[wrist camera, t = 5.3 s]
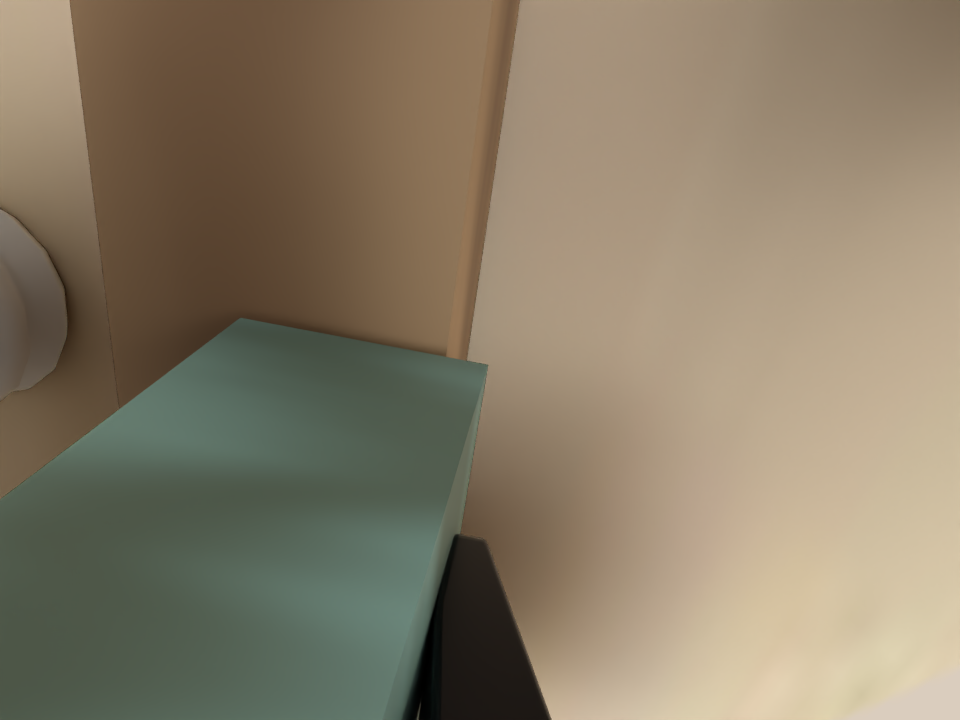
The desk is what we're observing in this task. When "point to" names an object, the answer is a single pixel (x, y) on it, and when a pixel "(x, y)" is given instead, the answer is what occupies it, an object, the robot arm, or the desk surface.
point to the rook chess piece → (28, 309)
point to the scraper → (265, 362)
